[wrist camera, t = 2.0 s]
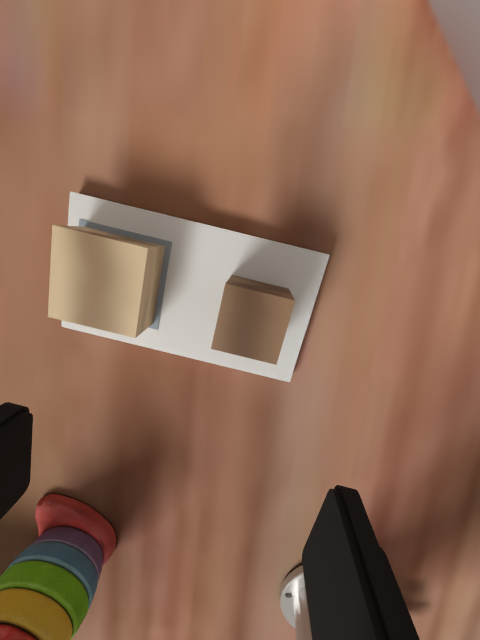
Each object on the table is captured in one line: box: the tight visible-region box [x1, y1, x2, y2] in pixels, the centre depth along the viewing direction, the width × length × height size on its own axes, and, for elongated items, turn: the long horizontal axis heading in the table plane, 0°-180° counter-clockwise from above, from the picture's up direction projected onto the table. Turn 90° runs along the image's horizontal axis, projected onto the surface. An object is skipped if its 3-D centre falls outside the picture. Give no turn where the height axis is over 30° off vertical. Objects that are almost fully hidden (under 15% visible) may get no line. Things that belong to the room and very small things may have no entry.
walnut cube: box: [211, 275, 295, 365], centre depth 24 cm, size 5×5×5 cm
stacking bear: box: [0, 494, 116, 640], centre depth 28 cm, size 11×10×18 cm
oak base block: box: [48, 225, 165, 338], centre depth 24 cm, size 7×7×4 cm
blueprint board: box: [61, 192, 330, 382], centre depth 26 cm, size 22×12×1 cm, turn 77°
